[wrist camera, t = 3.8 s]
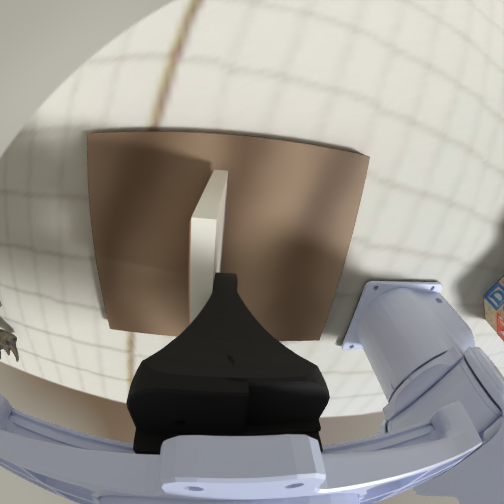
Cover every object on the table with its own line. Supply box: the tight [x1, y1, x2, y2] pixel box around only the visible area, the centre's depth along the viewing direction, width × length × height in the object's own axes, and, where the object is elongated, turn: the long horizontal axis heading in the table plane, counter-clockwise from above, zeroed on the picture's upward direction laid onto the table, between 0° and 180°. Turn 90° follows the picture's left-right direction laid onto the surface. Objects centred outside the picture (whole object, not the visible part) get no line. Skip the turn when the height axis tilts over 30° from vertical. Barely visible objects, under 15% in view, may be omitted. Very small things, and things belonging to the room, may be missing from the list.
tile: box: [189, 170, 228, 325], centre depth 14 cm, size 8×8×1 cm
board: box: [87, 131, 370, 341], centre depth 20 cm, size 18×16×2 cm
